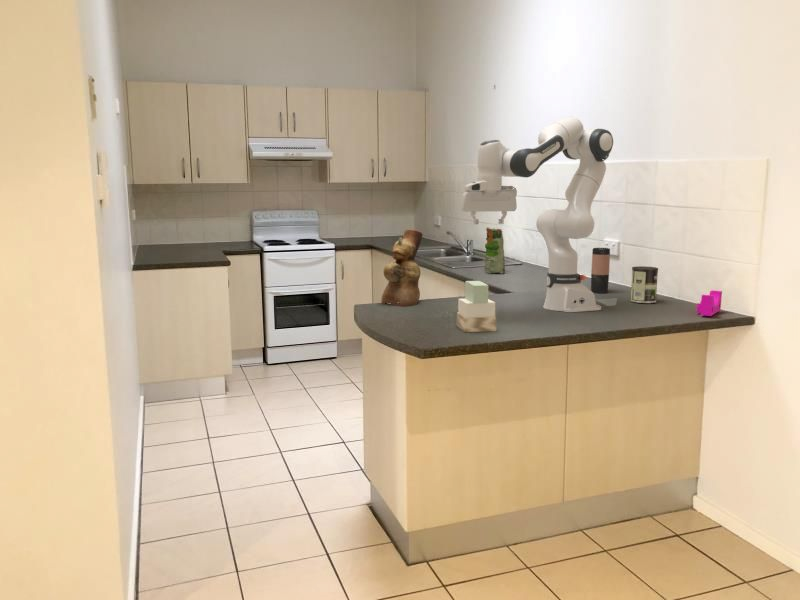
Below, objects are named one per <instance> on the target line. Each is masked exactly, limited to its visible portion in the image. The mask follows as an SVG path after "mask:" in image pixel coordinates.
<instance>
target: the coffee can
mask: <svg viewBox="0 0 800 600" xmlns="http://www.w3.org/2000/svg"><path fill="white" fill-rule="evenodd" d="M631 270H632V271H631V287H630V289H631V290H630V302H633V303H638V304H639V303H640V304H653V303H657V291H658V274H659V273H658V272H659V268H658V267H655V266H645V265H644V266H632V267H631Z"/></svg>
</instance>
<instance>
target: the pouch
mask: <svg viewBox="0 0 800 600" xmlns="http://www.w3.org/2000/svg"><path fill="white" fill-rule="evenodd" d="M485 230H486V238H485V240H486V241H487V242H486V243H485V244H484V248H485V257H484V258H485V259H484V264H485V265H484V273H485V274H487V275H490V274H497V275H498V274H499V275H502V274H503V275H504V274H505V273H506V268H505V267H506V264H505V250H504V236H503V231H502V229H501V228H497V229H496V228H494V227H493V228H490V227H486V228H485Z"/></svg>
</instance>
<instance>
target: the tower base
mask: <svg viewBox="0 0 800 600" xmlns="http://www.w3.org/2000/svg"><path fill="white" fill-rule="evenodd" d="M497 320H498V319H497V317H496V316H495V317H486V318H465V317H464V316H462V315H461V314H459V313H458V312H456V326H457V327H458V328H459V329H460V330H461V331H462V332H463V333H476V332H496V331H497Z"/></svg>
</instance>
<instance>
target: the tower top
mask: <svg viewBox="0 0 800 600" xmlns="http://www.w3.org/2000/svg"><path fill="white" fill-rule="evenodd" d="M457 303H458V304H457V306H458V307H457V309H458V311H457V313H459V314H461V315H462V316H464V317H465V318H486V317H496V302H495V301H493V300H491V299H490V298H488V303H475V304H473V303H472V302H470V301H469V300H467V299H466V298H465V297H464V298H458V302H457Z"/></svg>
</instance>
